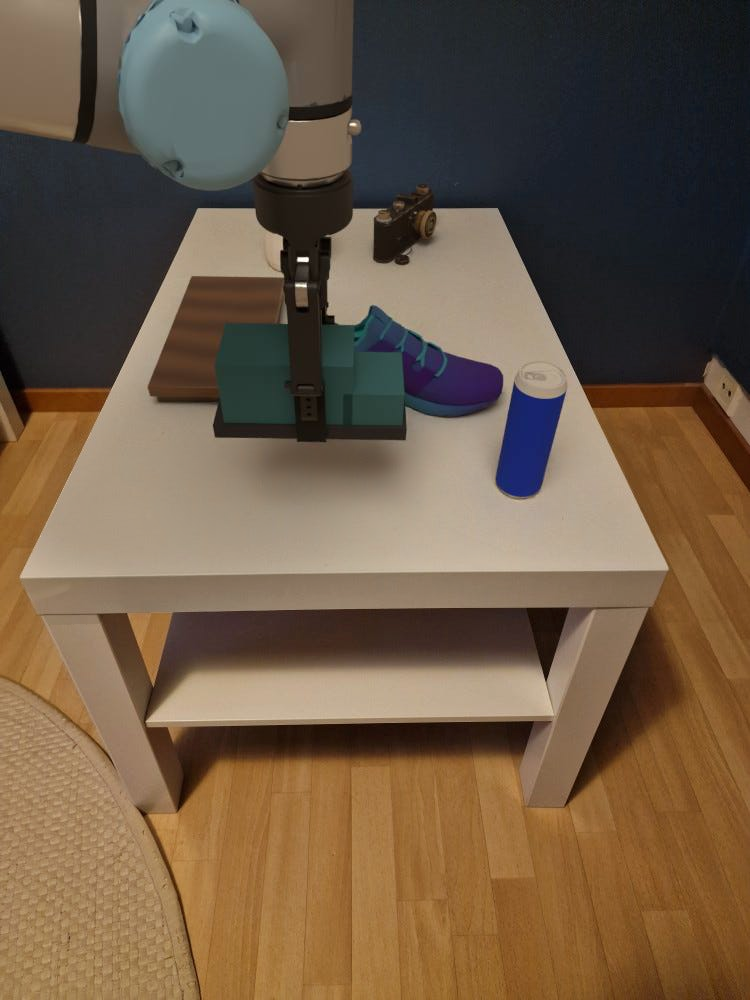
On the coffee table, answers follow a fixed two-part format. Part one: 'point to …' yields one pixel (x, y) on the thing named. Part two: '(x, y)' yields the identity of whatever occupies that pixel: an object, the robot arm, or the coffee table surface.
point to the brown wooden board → (209, 332)
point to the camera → (403, 225)
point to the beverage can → (530, 428)
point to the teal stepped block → (270, 407)
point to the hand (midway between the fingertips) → (314, 412)
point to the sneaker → (430, 369)
